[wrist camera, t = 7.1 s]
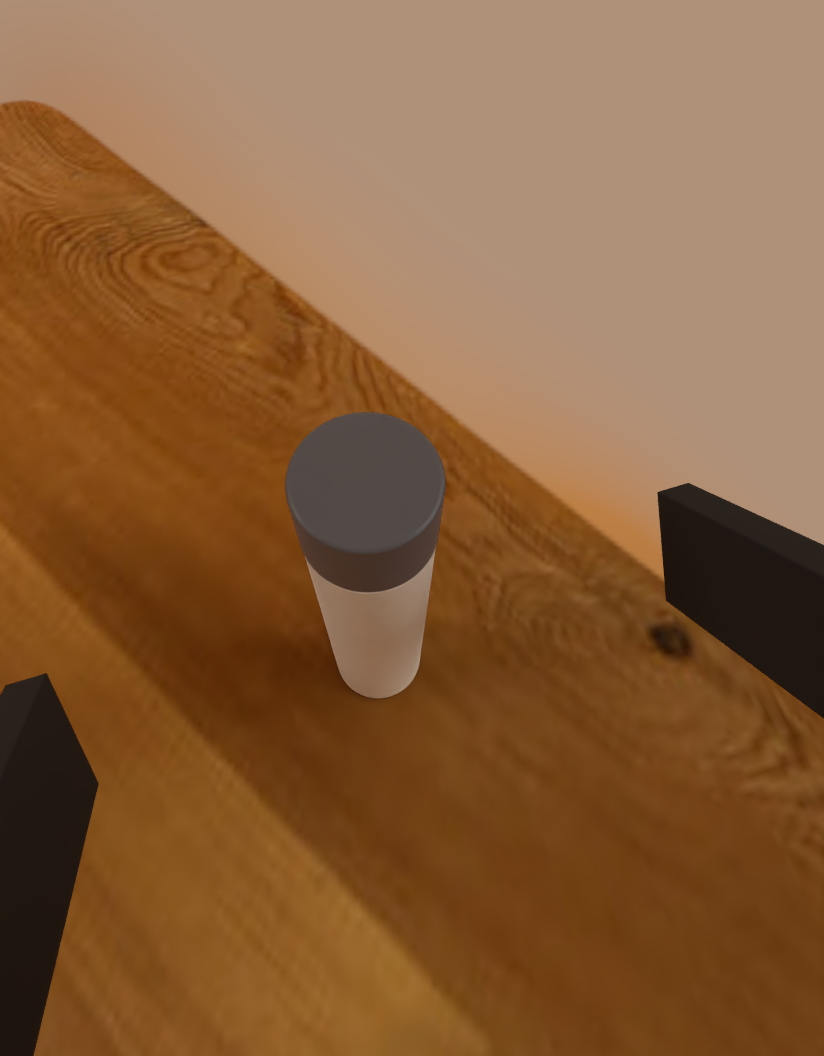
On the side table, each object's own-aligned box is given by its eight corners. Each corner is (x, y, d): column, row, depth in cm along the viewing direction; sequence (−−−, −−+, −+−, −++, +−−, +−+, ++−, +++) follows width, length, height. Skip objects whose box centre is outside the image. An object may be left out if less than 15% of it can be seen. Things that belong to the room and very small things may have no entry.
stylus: (428, 626, 23) (459, 426, 12) (410, 707, 22) (428, 567, 11) (348, 609, 23) (308, 397, 12) (327, 689, 22) (264, 534, 11)
